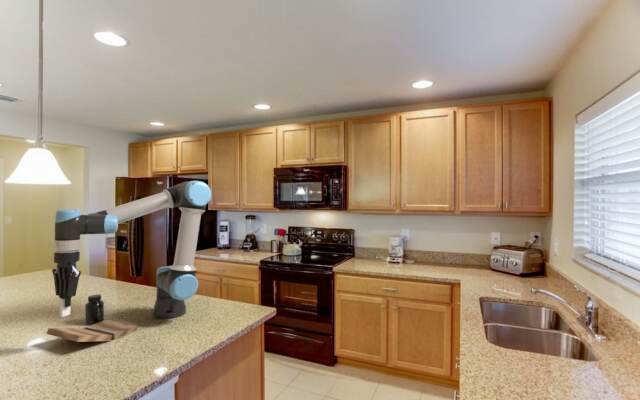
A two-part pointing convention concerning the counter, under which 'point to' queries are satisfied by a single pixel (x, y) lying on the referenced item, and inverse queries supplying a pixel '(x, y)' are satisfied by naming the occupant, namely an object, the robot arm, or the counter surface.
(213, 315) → the counter surface
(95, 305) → the supplement bottle
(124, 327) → the walnut board
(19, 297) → the counter surface
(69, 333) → the oak plank
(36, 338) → the counter surface
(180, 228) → the robot arm
